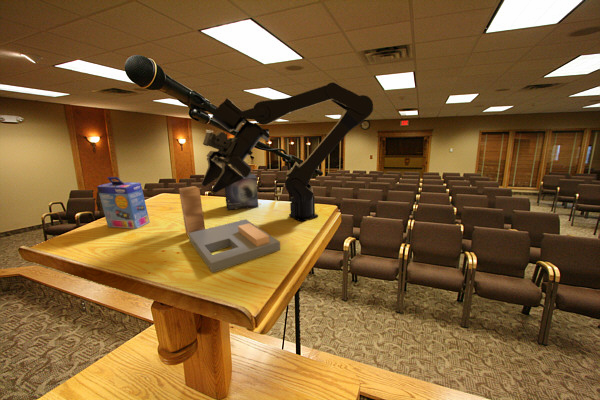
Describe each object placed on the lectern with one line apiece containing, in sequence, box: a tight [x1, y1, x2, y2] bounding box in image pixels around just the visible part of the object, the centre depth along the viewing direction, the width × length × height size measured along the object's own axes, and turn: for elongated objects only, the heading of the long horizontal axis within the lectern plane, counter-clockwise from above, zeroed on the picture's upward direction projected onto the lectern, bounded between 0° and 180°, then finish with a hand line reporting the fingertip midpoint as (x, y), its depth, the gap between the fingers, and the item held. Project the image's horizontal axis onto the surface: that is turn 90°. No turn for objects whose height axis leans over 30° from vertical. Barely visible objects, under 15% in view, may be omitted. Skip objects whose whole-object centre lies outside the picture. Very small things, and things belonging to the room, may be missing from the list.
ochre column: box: [178, 185, 206, 237], centre depth 67 cm, size 4×4×12 cm
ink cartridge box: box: [96, 176, 150, 230], centre depth 74 cm, size 10×6×14 cm, turn 78°
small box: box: [224, 173, 259, 211], centre depth 88 cm, size 11×6×10 cm, turn 105°
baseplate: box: [188, 218, 281, 273], centre depth 60 cm, size 15×18×4 cm
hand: (207, 188), depth 68 cm, fingers open, 9 cm apart
